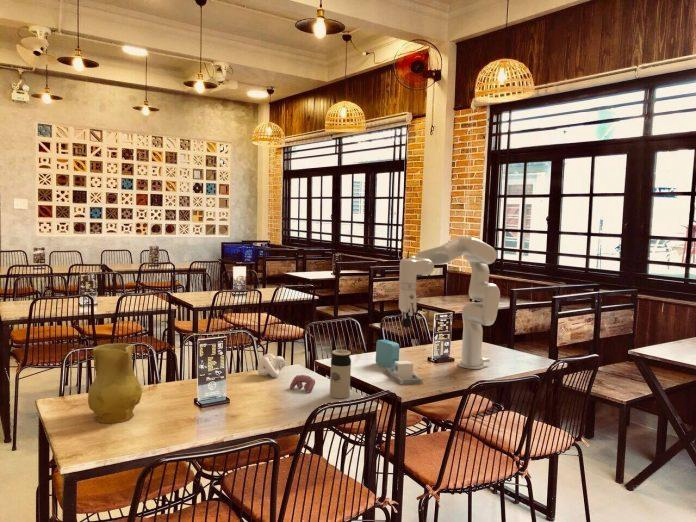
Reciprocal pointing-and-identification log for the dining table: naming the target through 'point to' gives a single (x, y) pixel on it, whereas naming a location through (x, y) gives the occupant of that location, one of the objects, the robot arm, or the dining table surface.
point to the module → (403, 369)
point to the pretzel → (270, 365)
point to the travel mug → (340, 374)
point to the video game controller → (306, 379)
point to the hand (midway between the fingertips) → (406, 326)
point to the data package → (387, 353)
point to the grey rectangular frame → (416, 379)
